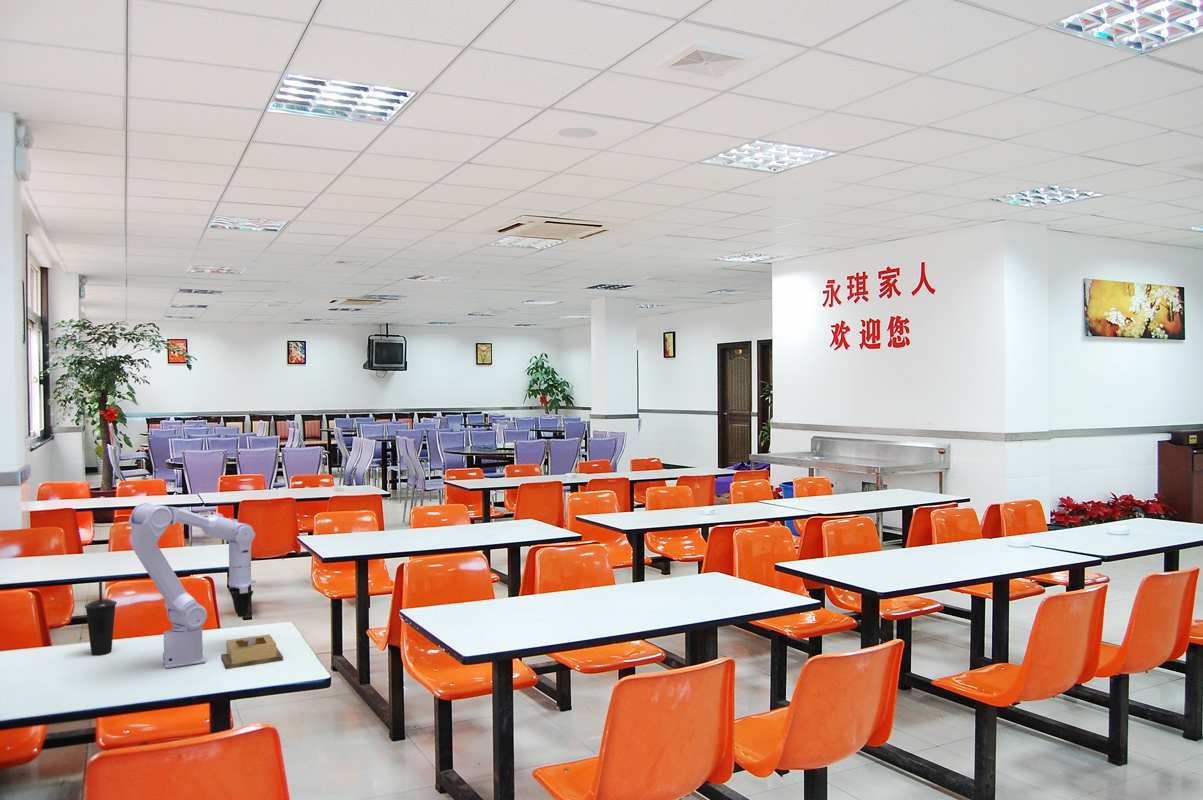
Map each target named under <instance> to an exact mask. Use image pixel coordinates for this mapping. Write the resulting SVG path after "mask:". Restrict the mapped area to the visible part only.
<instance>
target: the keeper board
mask: <svg viewBox="0 0 1203 800" xmlns="http://www.w3.org/2000/svg"><path fill="white" fill-rule="evenodd" d="M250 637H251V638H248V639H244V640H243V643H248V646H252V645H256V638H255V637H254V636H250ZM220 659H221V662H222V664H223V665H224V669H226V670H228V669H235V668H241V667H247V666H256V665H259V664H260V665H263V664H266V663H267V664H268V663H273V662H274V663H275V662H280V661H283V660H284V656H283V654H282V653H281V652H280V650H279V649H278V647H277V646H276V657H274V658H267V659H261V660H254V661H248V662H241V663H234V664H231V661H230V659H229V657H228V655H227V653H223V654H221V655H220Z"/></svg>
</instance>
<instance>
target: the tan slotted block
mask: <svg viewBox="0 0 1203 800" xmlns="http://www.w3.org/2000/svg"><path fill="white" fill-rule="evenodd" d="M251 637H252V636H248V637H242V638H235V639H234V638H233V639H226V641H225V642H226V654H227V655H228V657H229V659H230V661H231V664H234V663H241V662H248V661H254V660H261V659H267V658H274V657H276V647H277V642H275V640H274V638H273V637H272V636H271V635H270V634H263V635H256V636H255V635H254V636H253V637H255V638H256V645H252V646H248V643H243V640H244V639H248V638H251Z"/></svg>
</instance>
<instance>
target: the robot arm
mask: <svg viewBox="0 0 1203 800" xmlns="http://www.w3.org/2000/svg"><path fill="white" fill-rule="evenodd" d="M128 523H129V525H130V534H131V535H130V544H131V547H132V551H134V553H135V555H136V557H137V558H138V560H139V561H140V563H141V564H142V566H143V568H144V569H145V571H146V572H147V574H148V575H149V577H150V579H151V580H152V581H153V584H154V585H155V586H156V588H157V590H158V591H159V592H160V594H161V596H162V598H163V599H164V605H163V606H164V608H165V610H166V616H167V619H168V621H169V622H170V623H171V626H172V629H170V630H165V631H163V652H162V660H163V663H164V667H165V668H166V669H169V668H170V669H171V668H177V667H182V666H183V667H184V666H190V665H197V664H203V663H206V662H207V661H206V658H205V655H204V653H203V625H204V624H205V622H206V620H207V618H208V612H207V609H206V608H205V607H204V606H203V605H202V604H199V603H198V602H197V600H196V598H194V597H193V596H191V594H189V593H188V592H187V590H186V589H185V587H184V585H183V584H182V583H181V581H180V579H179V578H178V576H177V574H176V572H175V571H174V569H173V568H172V566H171V565H170V564H169V561H168V560H167V558H166V556H165V555H164V553H163V552H162V550H161V549H160V547H159V545H158V543H159V540H160V538H161V537H162V535H163V534H164V533H165V531H166V530H167V528H168V527H169V526H170V525H175V524H177V523H181V524H184V525H187V526H192V527H195V528H200V529H201V530H202V532H203V534H204V535H205V536H208V537H213V538H216V539H221V540H223V541H226V542H227V543H228V576H229V577H228V579H229V580H228V581H229V582H228V586H229V587H228V588H227V589H228V592H229V593H230V595H231V598H232V603H233V608H234V611H235V614H236V615H237V617H238V618H241V617H247V614H248V610H249V604H250V601H251V598H252V596H253V593H254V590H250V589H251V585H252V584H256V583H257V580H256V579H255V578H254V579H252V542H253V541H254V539H255V537H256V532H255V531H254V529H253V527H252V526H251V525H250V524H248V523H243V522H239V520H238V519H236V518H232V519H230V518H226V517H224V514H221V513H218V512H217V513H216V514H210V515H208V516H204V515H202V514H199V513H195V512H191V511H189V510H186V509H183V508H180V507H175V506H167V505H163V504H160V505H158V504H152V503H151V504H150V503H146V502H143V503H139V504H137V506H135V507H134V509H132V512H131V514H130V516H129V519H128Z"/></svg>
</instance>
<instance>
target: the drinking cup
mask: <svg viewBox="0 0 1203 800" xmlns="http://www.w3.org/2000/svg"><path fill="white" fill-rule="evenodd" d="M98 593H99V594H98V597H99V599H98V598H97V599H94V600H91V601H90V602H89V603H86V604H85V605H84V608H85V610H86V611H85V612H86V620H87V628H88V636H89V637H88V638H89V646H90V654H91V655H92V656H96V657H97V656H102V655H109V654H110V653H112V651H113V650H112V648H113V638H114V629H115V628H114V625H115V616H116V615H115V614H116V605H117V603H118V601H116V600H113V599H109V598H103V580H99V581H98Z"/></svg>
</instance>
